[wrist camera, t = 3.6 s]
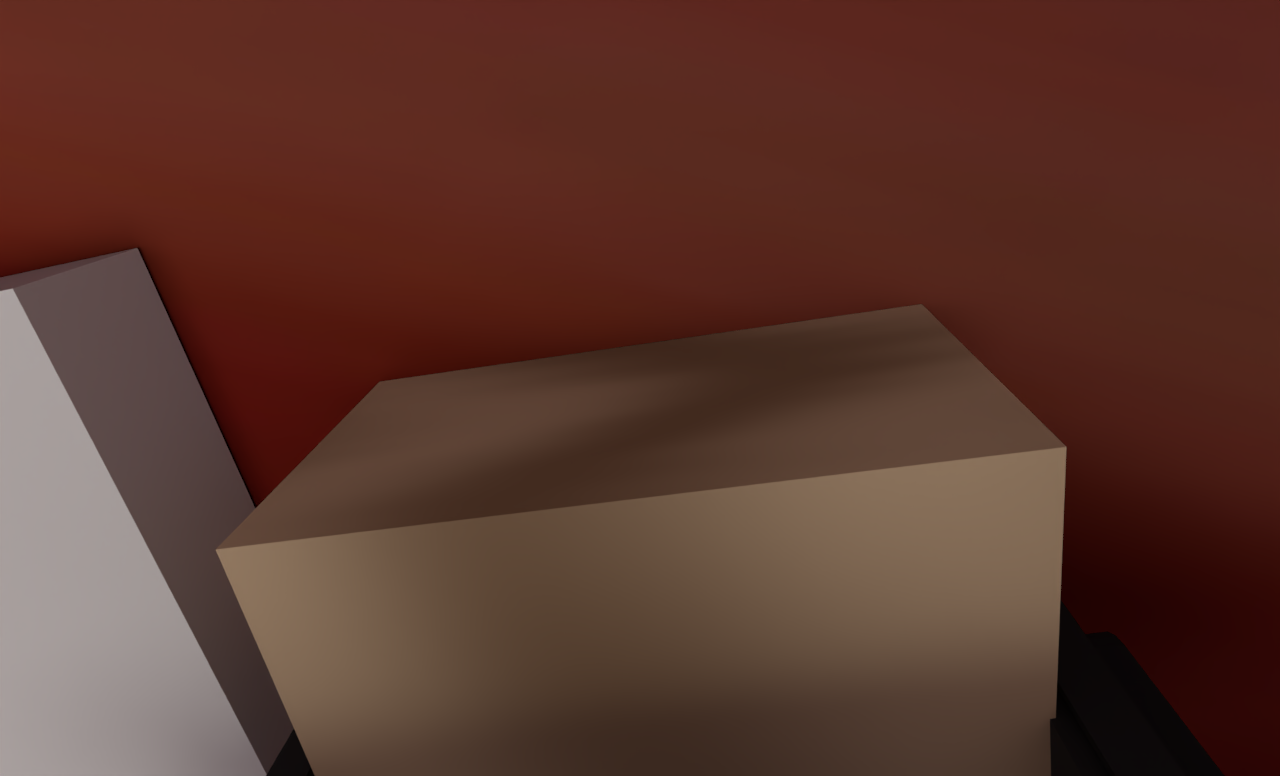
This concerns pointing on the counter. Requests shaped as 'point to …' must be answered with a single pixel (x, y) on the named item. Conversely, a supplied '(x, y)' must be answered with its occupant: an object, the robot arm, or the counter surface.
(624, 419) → the wooden block
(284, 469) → the counter surface
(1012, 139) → the counter surface
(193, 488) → the serving board
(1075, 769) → the robot arm
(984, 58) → the counter surface
